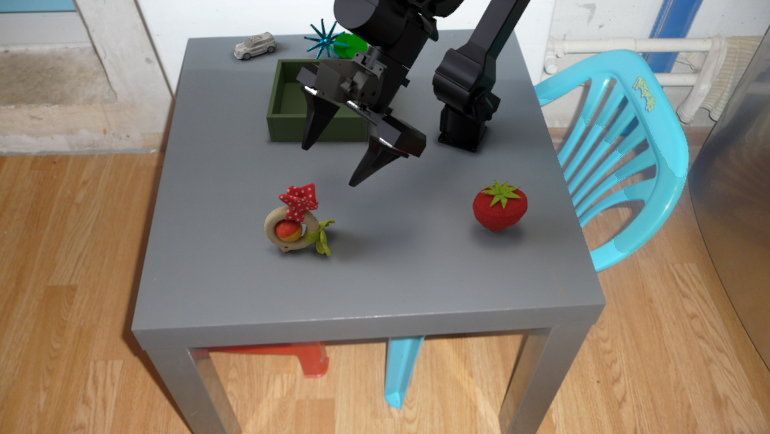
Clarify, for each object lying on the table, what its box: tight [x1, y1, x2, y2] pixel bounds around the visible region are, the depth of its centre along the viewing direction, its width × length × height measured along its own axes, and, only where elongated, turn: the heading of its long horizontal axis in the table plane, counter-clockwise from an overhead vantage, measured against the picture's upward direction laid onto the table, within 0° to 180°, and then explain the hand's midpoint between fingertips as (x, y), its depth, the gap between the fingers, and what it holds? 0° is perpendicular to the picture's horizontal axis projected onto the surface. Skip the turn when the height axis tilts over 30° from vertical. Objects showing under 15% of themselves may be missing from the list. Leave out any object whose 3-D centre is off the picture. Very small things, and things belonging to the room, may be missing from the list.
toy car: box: [233, 31, 278, 61], centre depth 111 cm, size 4×8×3 cm, turn 118°
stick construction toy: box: [303, 18, 369, 59], centre depth 110 cm, size 12×7×8 cm
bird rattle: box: [263, 182, 336, 257], centre depth 77 cm, size 6×11×9 cm
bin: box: [265, 58, 369, 142], centre depth 98 cm, size 16×16×5 cm
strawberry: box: [471, 178, 529, 233], centre depth 79 cm, size 6×8×10 cm
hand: (327, 167), depth 75 cm, fingers open, 9 cm apart
